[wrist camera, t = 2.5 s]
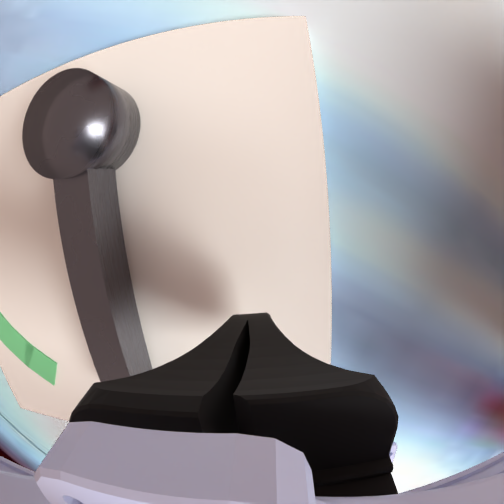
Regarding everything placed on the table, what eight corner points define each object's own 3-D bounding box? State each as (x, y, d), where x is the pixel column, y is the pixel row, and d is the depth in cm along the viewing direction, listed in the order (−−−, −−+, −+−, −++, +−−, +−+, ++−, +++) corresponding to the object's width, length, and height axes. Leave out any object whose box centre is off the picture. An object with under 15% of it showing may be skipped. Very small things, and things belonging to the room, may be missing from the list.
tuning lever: (61, 100, 11) (23, 88, 8) (138, 75, 11) (109, 53, 8) (113, 389, 14) (92, 422, 11) (184, 394, 14) (171, 432, 11)
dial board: (324, 420, 15) (327, 433, 14) (27, 400, 17) (20, 408, 16) (302, 25, 11) (305, 15, 10) (-34, 125, 12) (-45, 125, 11)
